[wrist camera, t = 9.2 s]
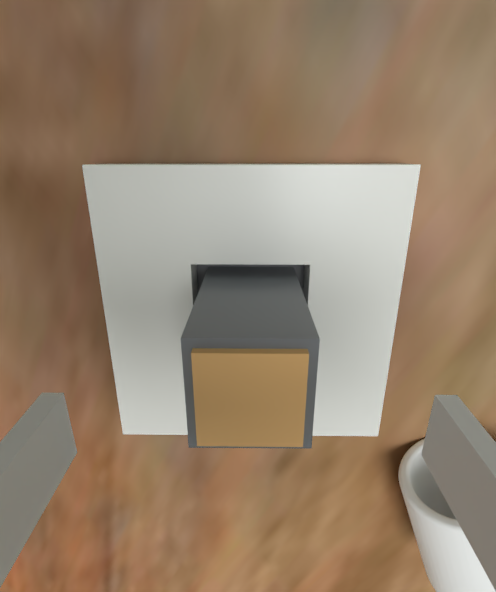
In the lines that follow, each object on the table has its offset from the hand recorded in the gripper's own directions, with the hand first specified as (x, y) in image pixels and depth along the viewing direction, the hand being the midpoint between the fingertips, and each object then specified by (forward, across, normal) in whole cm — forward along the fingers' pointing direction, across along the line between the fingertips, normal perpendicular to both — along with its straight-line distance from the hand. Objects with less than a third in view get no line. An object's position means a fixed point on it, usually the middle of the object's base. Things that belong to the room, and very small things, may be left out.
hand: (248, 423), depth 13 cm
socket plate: (+12, 0, -1) cm, 13 cm away
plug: (+12, 0, -1) cm, 12 cm away
